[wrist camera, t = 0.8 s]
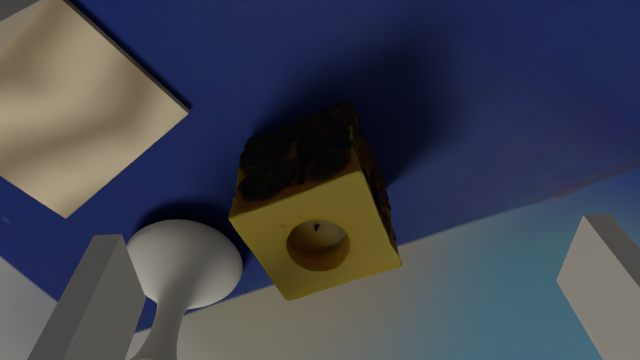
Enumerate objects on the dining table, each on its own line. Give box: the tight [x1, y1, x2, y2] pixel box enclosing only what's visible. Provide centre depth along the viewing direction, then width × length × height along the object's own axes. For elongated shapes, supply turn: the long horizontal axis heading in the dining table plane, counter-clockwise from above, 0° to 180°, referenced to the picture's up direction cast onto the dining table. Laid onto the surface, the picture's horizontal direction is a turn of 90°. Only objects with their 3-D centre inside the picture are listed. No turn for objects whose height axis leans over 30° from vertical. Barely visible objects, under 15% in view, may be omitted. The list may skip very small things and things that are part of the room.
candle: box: [228, 101, 402, 301], centre depth 37 cm, size 10×10×10 cm
